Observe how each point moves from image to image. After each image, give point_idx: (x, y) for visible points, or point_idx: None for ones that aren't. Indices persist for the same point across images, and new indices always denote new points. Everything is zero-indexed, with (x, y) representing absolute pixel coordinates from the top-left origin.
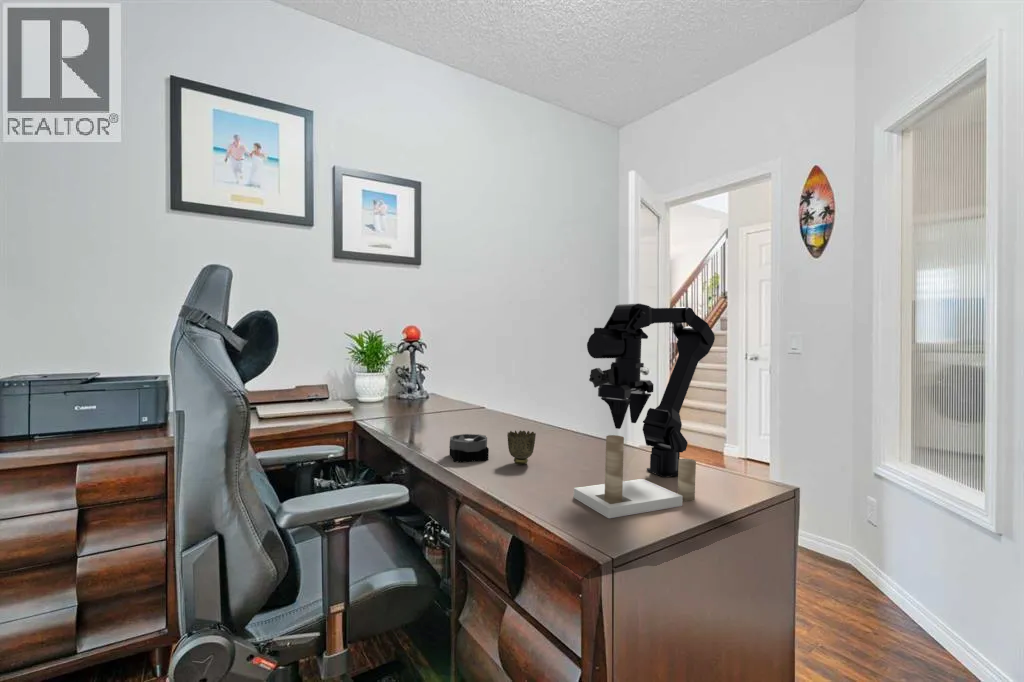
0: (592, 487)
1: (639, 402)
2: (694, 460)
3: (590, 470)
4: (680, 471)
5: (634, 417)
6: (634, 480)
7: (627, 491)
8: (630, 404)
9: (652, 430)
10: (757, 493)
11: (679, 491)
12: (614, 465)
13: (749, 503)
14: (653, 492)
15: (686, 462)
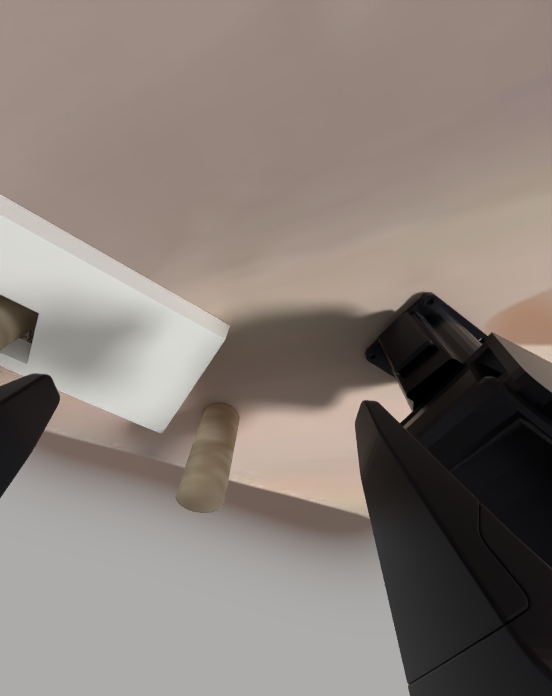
0: (2, 233)
1: (426, 669)
2: (216, 510)
3: (325, 56)
4: (187, 464)
5: (364, 455)
6: (189, 325)
7: (76, 336)
8: (452, 568)
9: (436, 438)
10: (342, 495)
11: (202, 420)
12: None
13: (272, 488)
14: (129, 387)
15: (177, 500)
